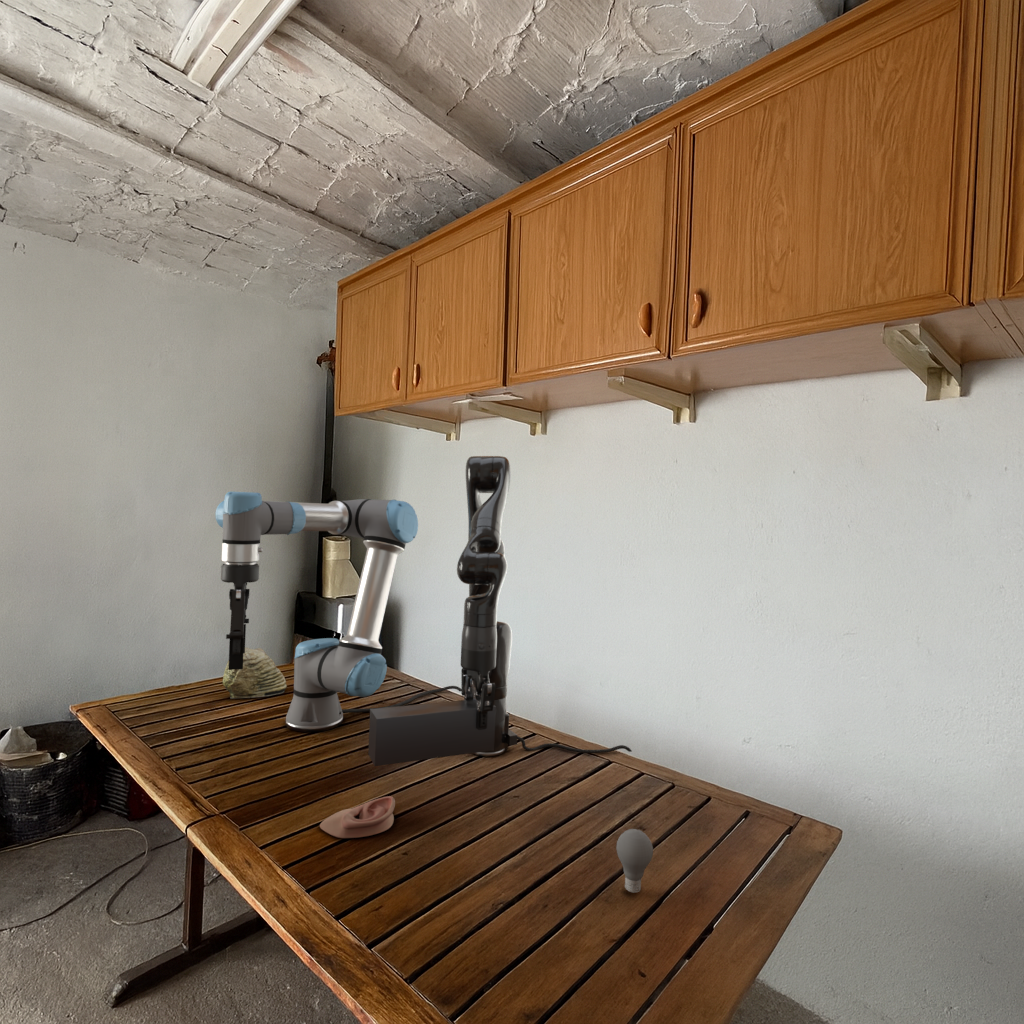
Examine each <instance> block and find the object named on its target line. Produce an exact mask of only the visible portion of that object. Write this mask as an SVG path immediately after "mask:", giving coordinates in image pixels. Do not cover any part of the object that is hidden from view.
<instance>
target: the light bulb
mask: <svg viewBox="0 0 1024 1024" xmlns="http://www.w3.org/2000/svg"><path fill="white" fill-rule="evenodd" d="M615 849H616V854H617V857H618V859H619V861H620V863H621V865H622V867H623V873H624V874H623V875H624V876H625V878H624V888H625V890H627V891H628V892H630V893H634V894H635V893H639V892H640V891H641V889H642V887H641V886H642V879H643V877H644V875H645V871H646V868H647V867H648V866H649V864H650V863H651V861H652V859H653V855H654V847H653V843H652V841H651V838H649V836H648V835H647V834H646V833H645V832H643V831H642V830H641V829H636V828H629V829H627V830H625V831H623V832H622V833H621V834H620V835H619V837H618V839H617V841H616V847H615Z"/></svg>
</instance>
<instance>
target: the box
mask: <svg viewBox="0 0 1024 1024" xmlns="http://www.w3.org/2000/svg"><path fill="white" fill-rule="evenodd" d="M480 703H481V700H480ZM386 707H387V706H386ZM375 708H376V709H370V712H369V729H368V757H369V758H370V760H371V762H372V764H373V765H374V767H380V766H387V765H394V764H395V765H396V764H404V763H409V762H415V761H416V762H417V761H425V760H431V759H432V760H433V759H439V758H446V757H454V756H455V757H456V756H463V755H468V754H473V753H478V752H485V751H493V750H494V736H495V714H496V706H494V705H493V711H488V718H487V728H486V729H483V730H478V729H477V728H476V718H477V707H476V701H474V700H473V699H470V700H464V699H459V700H451V701H440V702H431V703H419V704H406V705H402V706H397V707H387V708H381V707H375Z"/></svg>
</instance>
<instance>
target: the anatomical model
mask: <svg viewBox="0 0 1024 1024" xmlns="http://www.w3.org/2000/svg"><path fill="white" fill-rule="evenodd" d="M395 806H396V799H395V797H393V796H392V795H391V796H390V795H389V796H388V795H387V796H383V797H379V798H376V799H372V800H369V801H367V802H365V803H362V804H360V805H358V806H355V807H352V808H346V809H345V808H344V809H342V810H340V811H337V812H335V813H333V814H331V815H329V816H328V817H327V818H325V819H324V820H322V821H321V823H320V824H319V828H320V829H321V830H322V831H324V832H325V833H326V834H329V835H331V836H333V837H335V838H339V839H354V838H355V839H356V838H363V837H369V836H373V835H377V834H381V833H383V832H385V831H387V830H389V829H390V828H391V827H392V826H393V824H394V820H395V817H394V814H393V813H394V810H395Z"/></svg>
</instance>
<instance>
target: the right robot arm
mask: <svg viewBox="0 0 1024 1024" xmlns="http://www.w3.org/2000/svg"><path fill="white" fill-rule="evenodd" d="M511 475H512V474H511V464H510V461H509V459H508V457H505V456H503V455H502V456H501V455H474V456H470V457H468V458H467V460H466V463H465V486H466V487H465V488H466V501H467V502H466V503H467V515H468V516H467V517H468V518H467V519H468V533H467V534H468V536H467V539H468V541H467V544H466V545H465V547H464V549H463V550H462V552H461V554H460V556H459V558H458V561H457V565H456V573H457V577H458V579H459V580H460V582H462V583H463V584H466V585H468V596H467V597H466V598H465V600H464V605H463V606H464V607H463V623H462V624H463V626H462V631H461V645H460V668H461V672H460V674H461V675H460V676H461V678H460V679H461V682H460V683H461V687H460V688H461V690H462V691H460V692H461V693H460V694H461V696H462V697H463V700H470V699H473V700H474V701H476V707H477V718H476V728H477V729H478V730H483V729H486V728H487V718H488V711H493V705H494V706H496V714H495V736H494V750H493V751H485V752H478V753H472V754H473V755H476V756H480V757H497V756H500V755H502V754H503V753H505V752H508V751H509V746H515V745H518V741H519V742H521V747H522V749H523V750H525V751H526V752H533V751H538V750H541V749H544V748H557V749H561V750H565V751H568V752H572V753H579V754H608V753H611V752H614V751H617V750H626V751H627V752H629V753H631V752H633V750H632V749H631V747H629V746H627V745H623V744H619V745H616V746H612V747H610V748H605V749H604V748H603V749H602V748H601V749H581V748H574V747H569V746H566V745H563V744H559V743H543V744H540V745H537V746H535V747H528V746H526V741H525V739H524V738H522V736H521V737H520V736H518V734H517V733H515V732H514V731H513V730H511V729H510V714H509V713H508V712H507V707H508V705H507V703H508V681H509V680H508V679H509V674H510V669H511V668H510V667H511V658H512V647H513V630H512V627H511V625H510V624H509V623H508V622H504V621H498V605H499V598H500V594H501V591H502V587H503V585H504V583H505V579H506V576H507V572H508V561H507V559H506V556H505V554H506V553H505V551H506V549H505V548H506V547H505V543H504V541H503V539H502V523H503V517H504V512H505V509H506V505H507V501H508V496H509V492H510V486H511ZM480 494H491V495H490V496H489V497H488V498H487V499H486V500H485V501H484V502H483V503H482V500H481V495H480ZM480 700H481V703H480Z"/></svg>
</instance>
